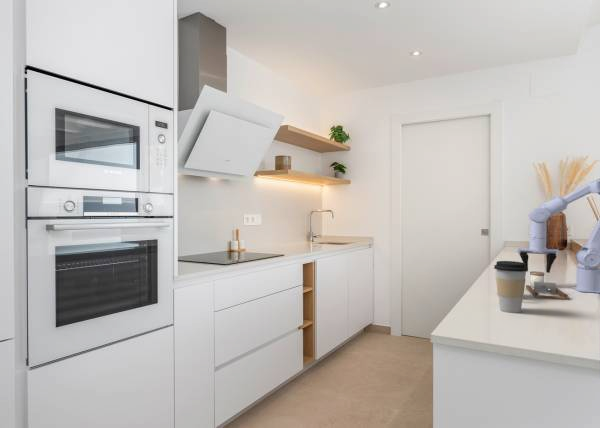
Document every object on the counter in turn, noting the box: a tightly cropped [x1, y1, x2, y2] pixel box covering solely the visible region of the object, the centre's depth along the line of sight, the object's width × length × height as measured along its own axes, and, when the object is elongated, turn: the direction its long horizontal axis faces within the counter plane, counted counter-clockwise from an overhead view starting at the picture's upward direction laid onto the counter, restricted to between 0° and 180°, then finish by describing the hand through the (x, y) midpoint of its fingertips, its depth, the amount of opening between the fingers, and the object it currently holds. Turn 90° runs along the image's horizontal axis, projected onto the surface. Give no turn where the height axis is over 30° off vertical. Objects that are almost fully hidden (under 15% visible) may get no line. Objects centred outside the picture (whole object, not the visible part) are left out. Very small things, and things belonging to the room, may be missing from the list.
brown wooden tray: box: [525, 284, 570, 301], centre depth 150 cm, size 10×16×2 cm, turn 162°
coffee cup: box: [493, 260, 529, 314], centre depth 126 cm, size 9×9×15 cm
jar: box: [529, 270, 546, 289], centre depth 162 cm, size 5×5×6 cm
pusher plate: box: [533, 281, 557, 295], centre depth 148 cm, size 7×8×4 cm
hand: (537, 271), depth 162 cm, fingers open, 7 cm apart
